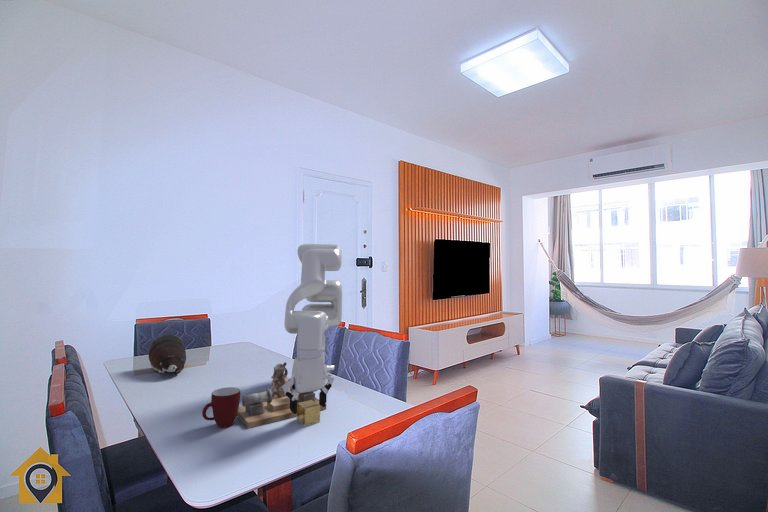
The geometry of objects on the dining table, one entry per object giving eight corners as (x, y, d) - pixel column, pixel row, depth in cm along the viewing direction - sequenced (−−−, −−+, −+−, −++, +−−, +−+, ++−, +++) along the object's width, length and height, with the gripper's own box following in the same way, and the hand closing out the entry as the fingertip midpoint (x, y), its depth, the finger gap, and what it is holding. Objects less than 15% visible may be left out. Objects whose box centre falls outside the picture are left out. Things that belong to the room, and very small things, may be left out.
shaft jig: (308, 397, 137) (308, 375, 138) (326, 409, 126) (326, 385, 126) (234, 413, 122) (235, 388, 122) (247, 428, 111) (248, 400, 111)
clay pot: (154, 353, 151) (151, 333, 171) (147, 390, 152) (144, 365, 172) (194, 354, 160) (186, 334, 180) (187, 388, 161) (180, 364, 181)
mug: (209, 436, 105) (210, 400, 105) (197, 427, 111) (198, 393, 111) (244, 424, 113) (245, 391, 113) (232, 417, 118) (232, 385, 119)
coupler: (296, 419, 118) (296, 403, 118) (311, 415, 121) (311, 399, 121) (304, 425, 113) (305, 409, 113) (320, 421, 116) (320, 405, 116)
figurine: (266, 396, 138) (266, 363, 138) (283, 391, 143) (283, 360, 144) (276, 401, 133) (277, 367, 133) (293, 396, 138) (294, 363, 139)
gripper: (328, 348, 125) (327, 400, 125) (278, 354, 115) (276, 411, 114) (339, 352, 119) (338, 406, 119) (287, 359, 109) (286, 419, 108)
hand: (308, 409), depth 116 cm, fingers open, 9 cm apart
